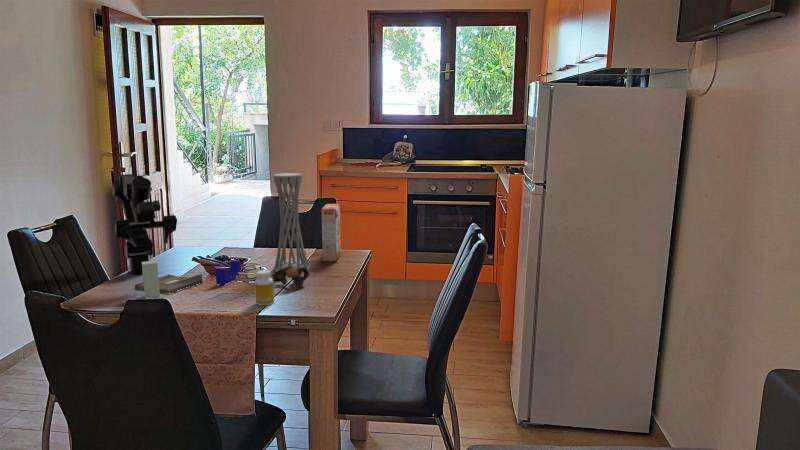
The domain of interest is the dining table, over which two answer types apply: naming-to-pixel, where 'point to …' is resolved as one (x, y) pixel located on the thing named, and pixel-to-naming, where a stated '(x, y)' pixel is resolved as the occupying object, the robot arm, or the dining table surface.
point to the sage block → (150, 279)
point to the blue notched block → (228, 273)
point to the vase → (289, 222)
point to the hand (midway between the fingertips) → (152, 244)
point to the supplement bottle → (264, 288)
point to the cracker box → (331, 232)
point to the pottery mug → (292, 273)
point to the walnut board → (174, 283)
